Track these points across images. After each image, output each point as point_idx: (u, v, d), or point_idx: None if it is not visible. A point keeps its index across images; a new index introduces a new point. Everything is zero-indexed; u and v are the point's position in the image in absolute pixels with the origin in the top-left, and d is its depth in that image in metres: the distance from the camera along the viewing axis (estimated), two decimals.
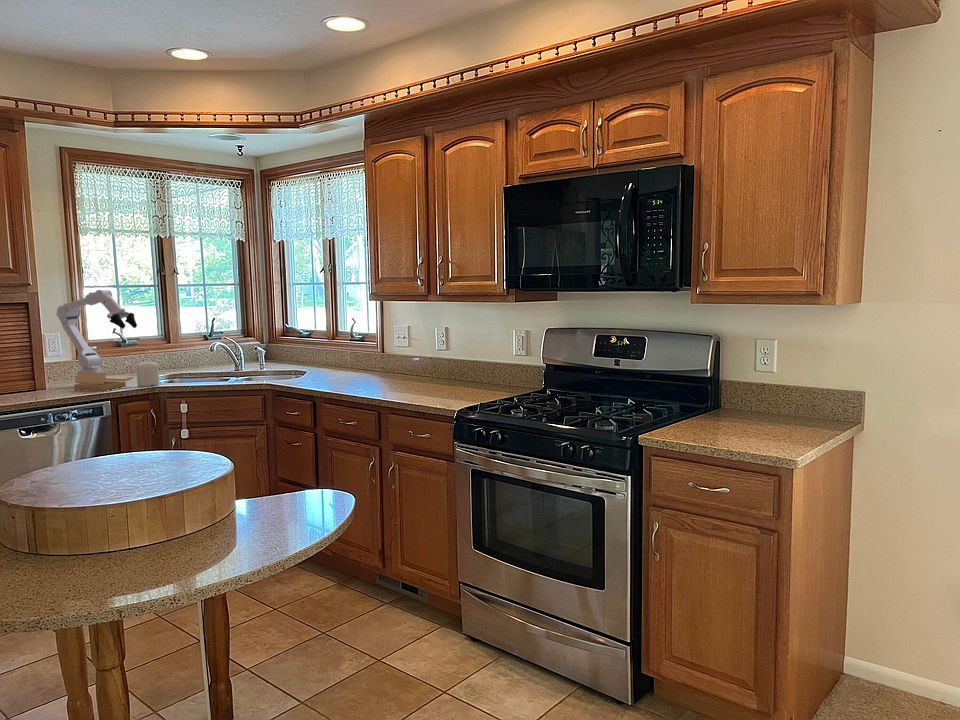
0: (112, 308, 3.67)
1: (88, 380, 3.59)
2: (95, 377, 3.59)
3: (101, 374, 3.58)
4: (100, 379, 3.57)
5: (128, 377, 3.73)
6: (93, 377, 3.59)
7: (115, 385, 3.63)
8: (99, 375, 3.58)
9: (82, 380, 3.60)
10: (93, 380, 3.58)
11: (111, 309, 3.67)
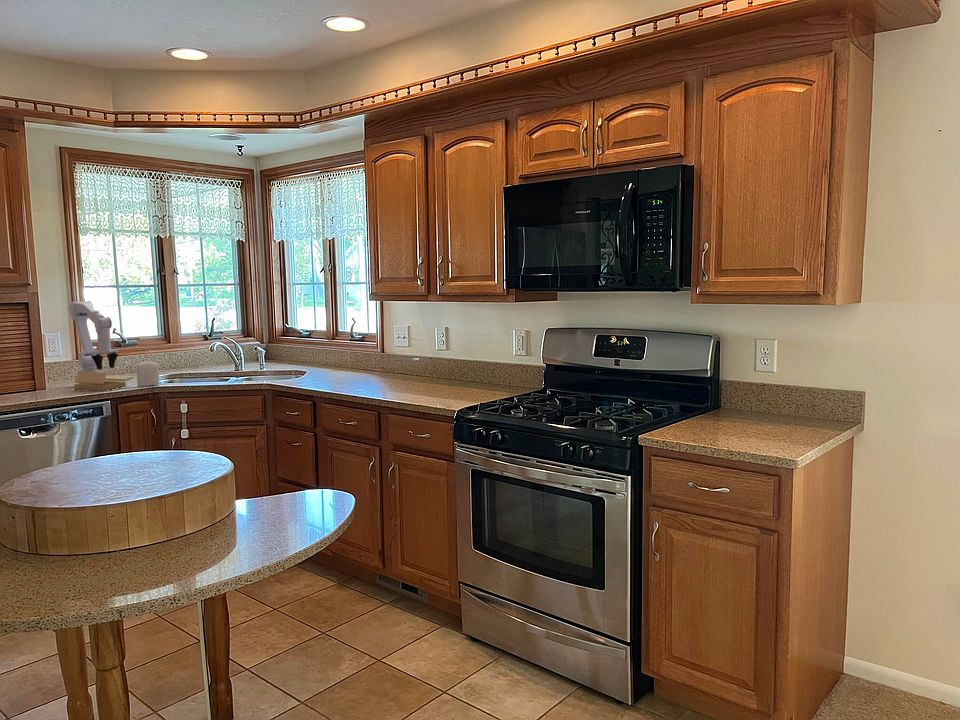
0: (101, 344, 3.65)
1: (88, 380, 3.59)
2: (95, 377, 3.59)
3: (101, 374, 3.58)
4: (100, 379, 3.57)
5: (128, 377, 3.73)
6: (93, 377, 3.59)
7: (115, 385, 3.63)
8: (99, 375, 3.58)
9: (82, 380, 3.60)
10: (93, 380, 3.58)
11: (100, 344, 3.65)
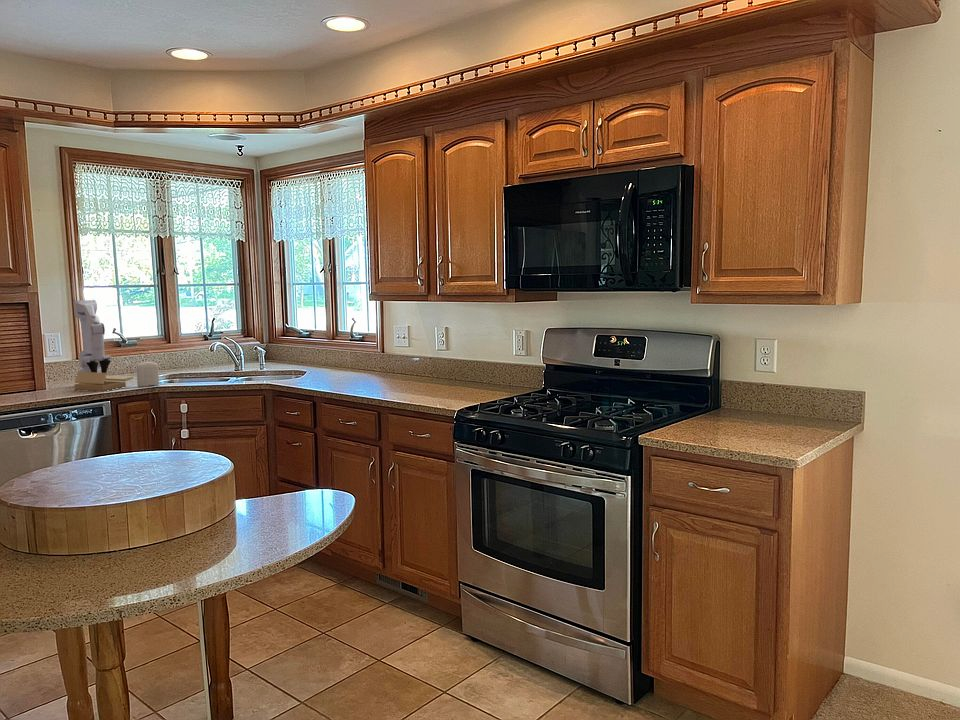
0: (95, 351, 3.61)
1: (88, 380, 3.59)
2: (95, 377, 3.58)
3: (101, 374, 3.58)
4: (100, 379, 3.57)
5: (128, 377, 3.73)
6: (93, 377, 3.59)
7: (115, 385, 3.63)
8: (99, 375, 3.58)
9: (82, 380, 3.60)
10: (93, 380, 3.58)
11: (94, 351, 3.61)
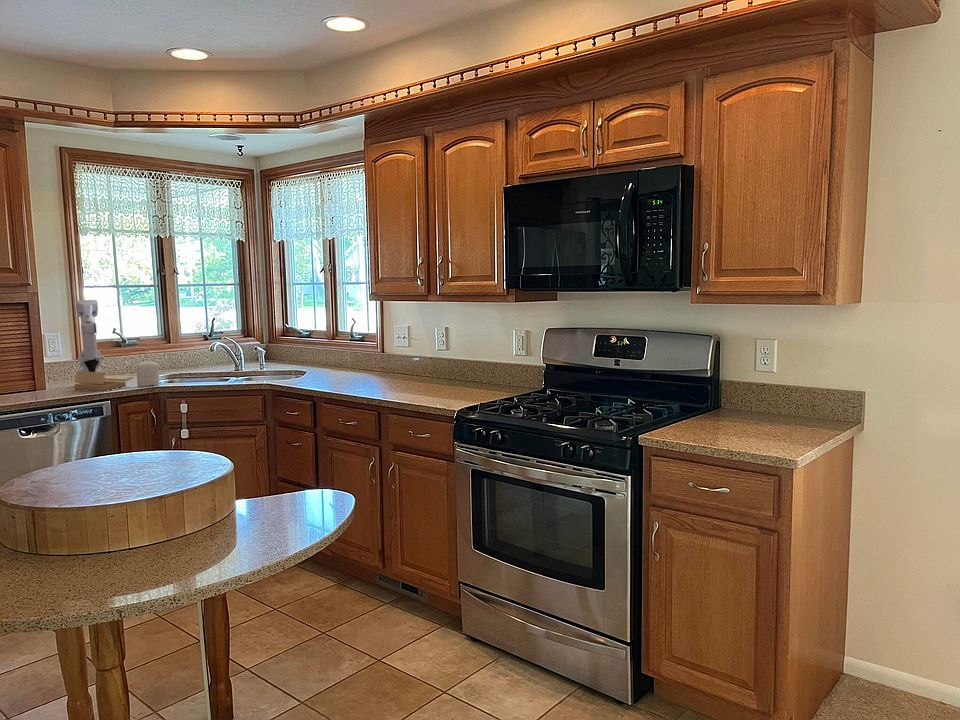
0: (87, 351, 3.57)
1: (88, 380, 3.59)
2: (94, 377, 3.58)
3: (100, 374, 3.58)
4: (100, 379, 3.57)
5: (128, 377, 3.73)
6: (92, 377, 3.59)
7: (115, 385, 3.63)
8: (98, 375, 3.58)
9: (82, 380, 3.60)
10: (92, 380, 3.58)
11: (86, 351, 3.57)
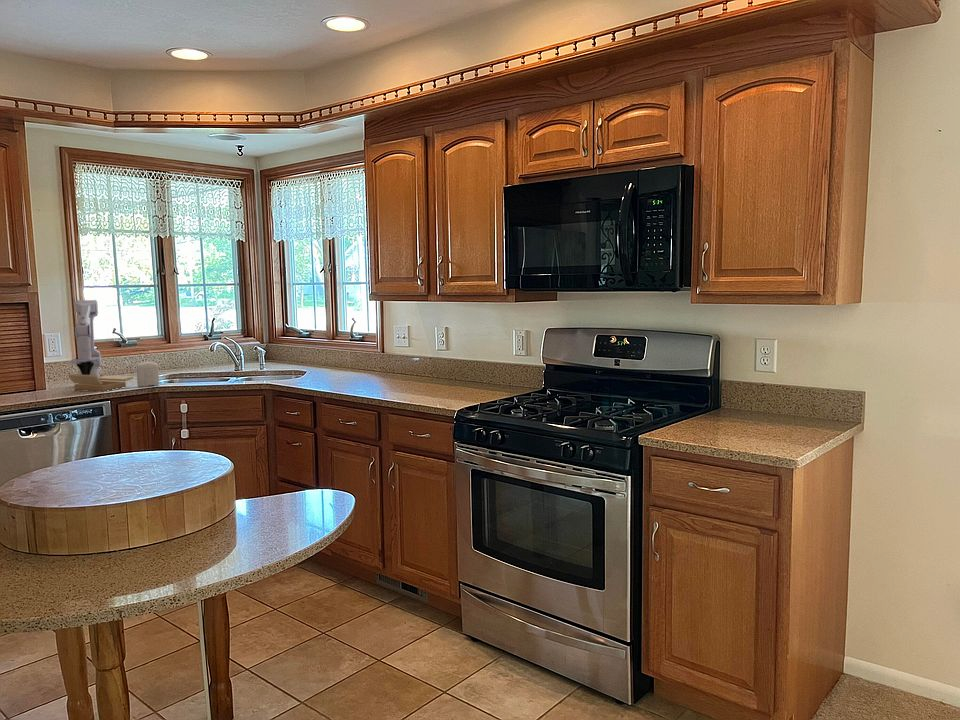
0: (81, 353, 3.53)
1: (86, 382, 3.58)
2: (89, 380, 3.55)
3: (92, 377, 3.53)
4: (97, 381, 3.55)
5: (128, 377, 3.73)
6: (87, 379, 3.56)
7: (115, 385, 3.63)
8: (91, 378, 3.54)
9: (80, 382, 3.59)
10: (90, 382, 3.57)
11: (80, 353, 3.53)
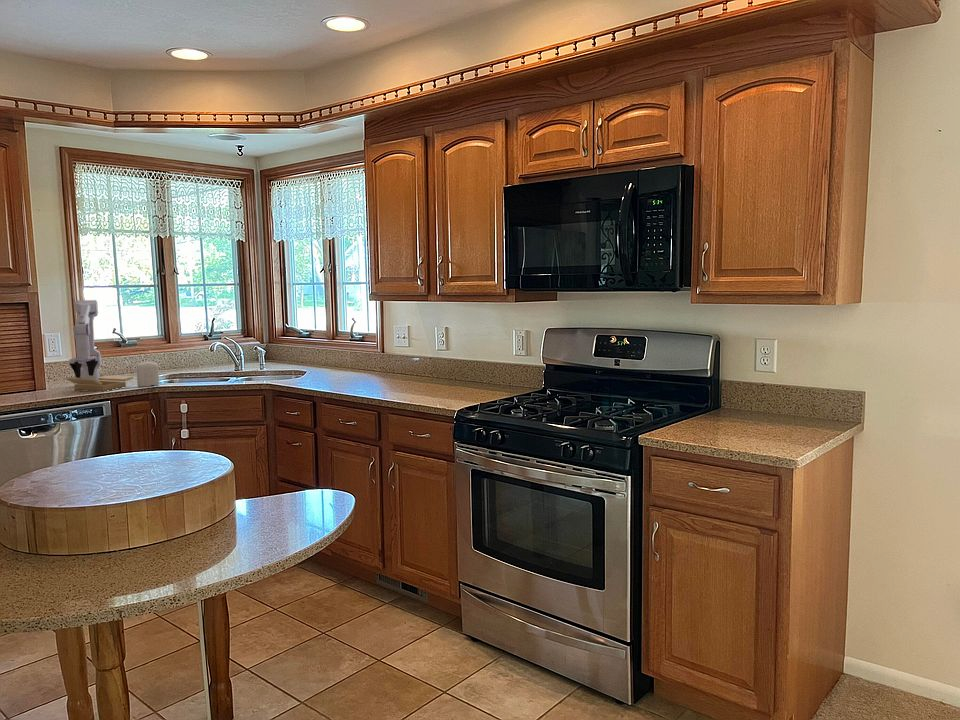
0: (80, 352, 3.53)
1: (86, 383, 3.58)
2: (89, 382, 3.55)
3: (91, 380, 3.53)
4: (97, 383, 3.55)
5: (128, 377, 3.73)
6: (86, 381, 3.55)
7: (115, 385, 3.63)
8: (90, 381, 3.53)
9: (80, 383, 3.59)
10: (90, 383, 3.57)
11: (78, 352, 3.53)
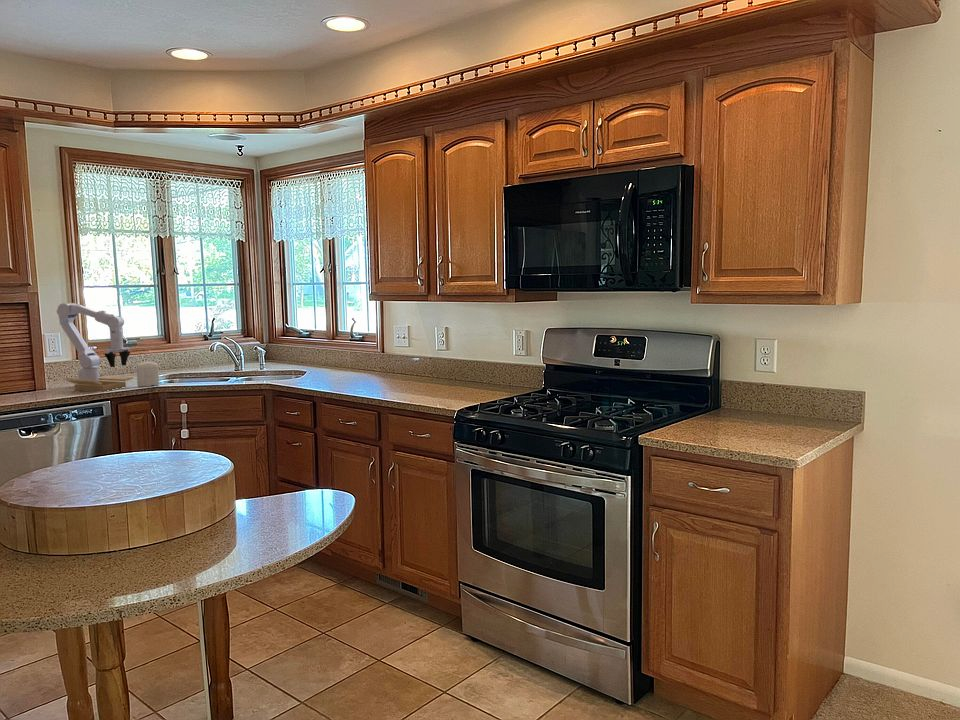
0: (114, 343, 3.75)
1: (86, 383, 3.58)
2: (88, 382, 3.55)
3: (90, 381, 3.52)
4: (96, 383, 3.55)
5: (128, 377, 3.73)
6: (86, 382, 3.55)
7: (115, 385, 3.63)
8: (90, 382, 3.53)
9: (80, 383, 3.59)
10: (90, 383, 3.57)
11: (113, 343, 3.75)
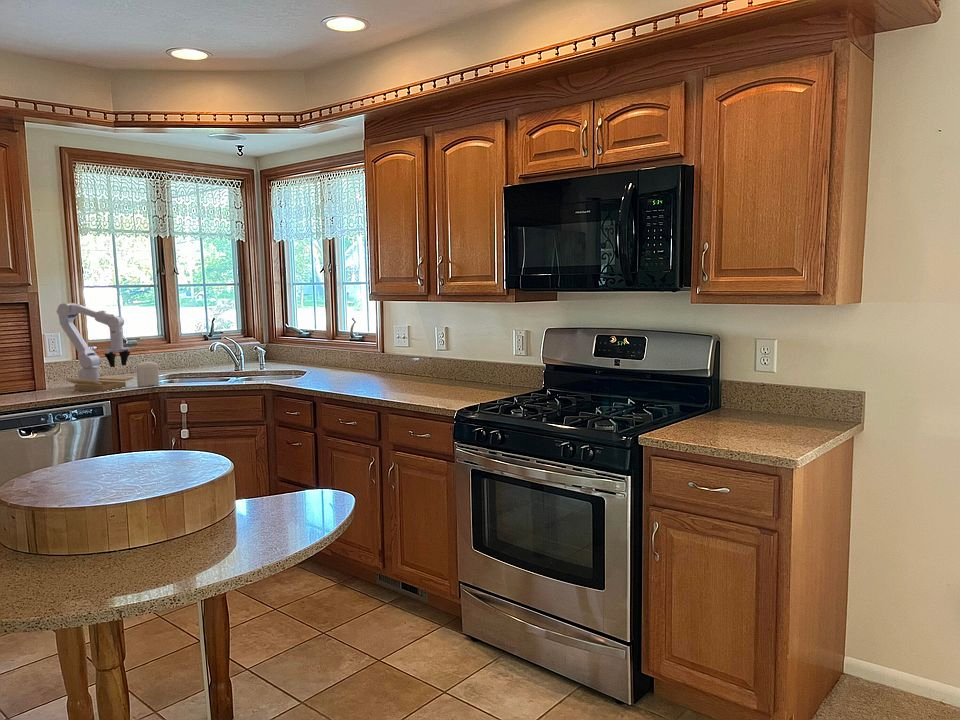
0: (114, 343, 3.75)
1: (86, 383, 3.58)
2: (88, 382, 3.55)
3: (90, 381, 3.52)
4: (96, 383, 3.55)
5: (128, 377, 3.73)
6: (86, 382, 3.55)
7: (115, 385, 3.63)
8: (90, 382, 3.53)
9: (80, 383, 3.59)
10: (90, 383, 3.57)
11: (113, 343, 3.75)
